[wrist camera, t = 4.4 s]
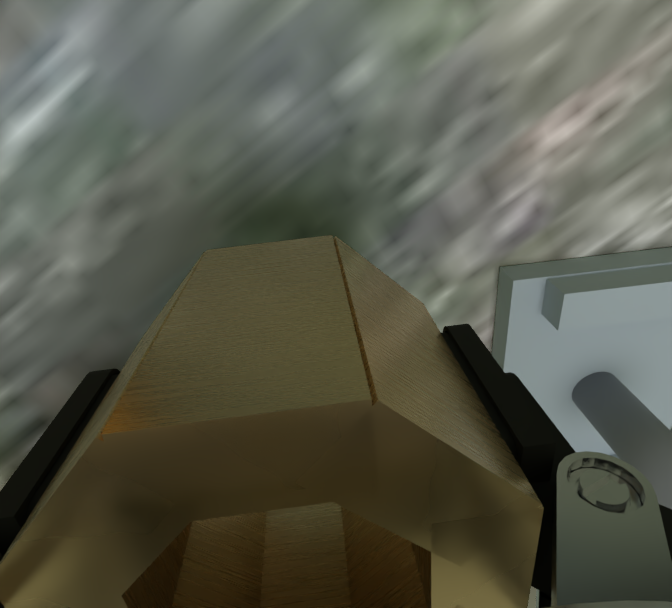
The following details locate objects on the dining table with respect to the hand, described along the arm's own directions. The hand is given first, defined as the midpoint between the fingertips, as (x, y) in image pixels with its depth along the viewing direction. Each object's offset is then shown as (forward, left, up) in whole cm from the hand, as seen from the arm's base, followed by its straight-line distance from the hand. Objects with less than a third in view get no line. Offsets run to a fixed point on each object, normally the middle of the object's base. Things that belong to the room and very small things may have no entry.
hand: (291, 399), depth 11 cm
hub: (0, 0, -1) cm, 1 cm away
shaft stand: (-9, -14, -10) cm, 20 cm away
